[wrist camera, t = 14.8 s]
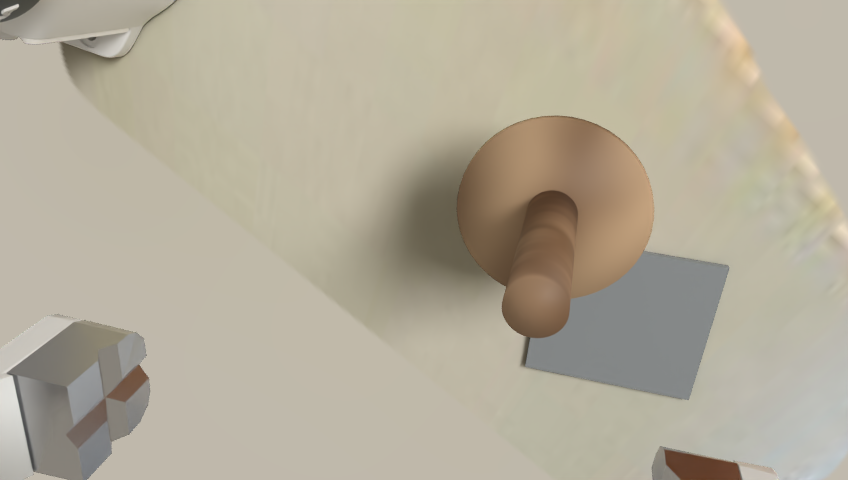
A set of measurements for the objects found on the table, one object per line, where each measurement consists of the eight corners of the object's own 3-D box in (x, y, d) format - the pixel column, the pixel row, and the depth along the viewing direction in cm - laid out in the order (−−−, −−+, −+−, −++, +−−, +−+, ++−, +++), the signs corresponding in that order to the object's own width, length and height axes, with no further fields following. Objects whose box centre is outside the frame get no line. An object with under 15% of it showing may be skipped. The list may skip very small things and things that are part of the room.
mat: (525, 363, 49) (525, 366, 48) (548, 234, 44) (548, 237, 44) (687, 396, 47) (688, 400, 46) (728, 265, 42) (729, 268, 42)
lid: (449, 275, 39) (400, 385, 30) (471, 101, 35) (422, 166, 26) (629, 310, 38) (637, 438, 28) (675, 132, 33) (703, 214, 24)
